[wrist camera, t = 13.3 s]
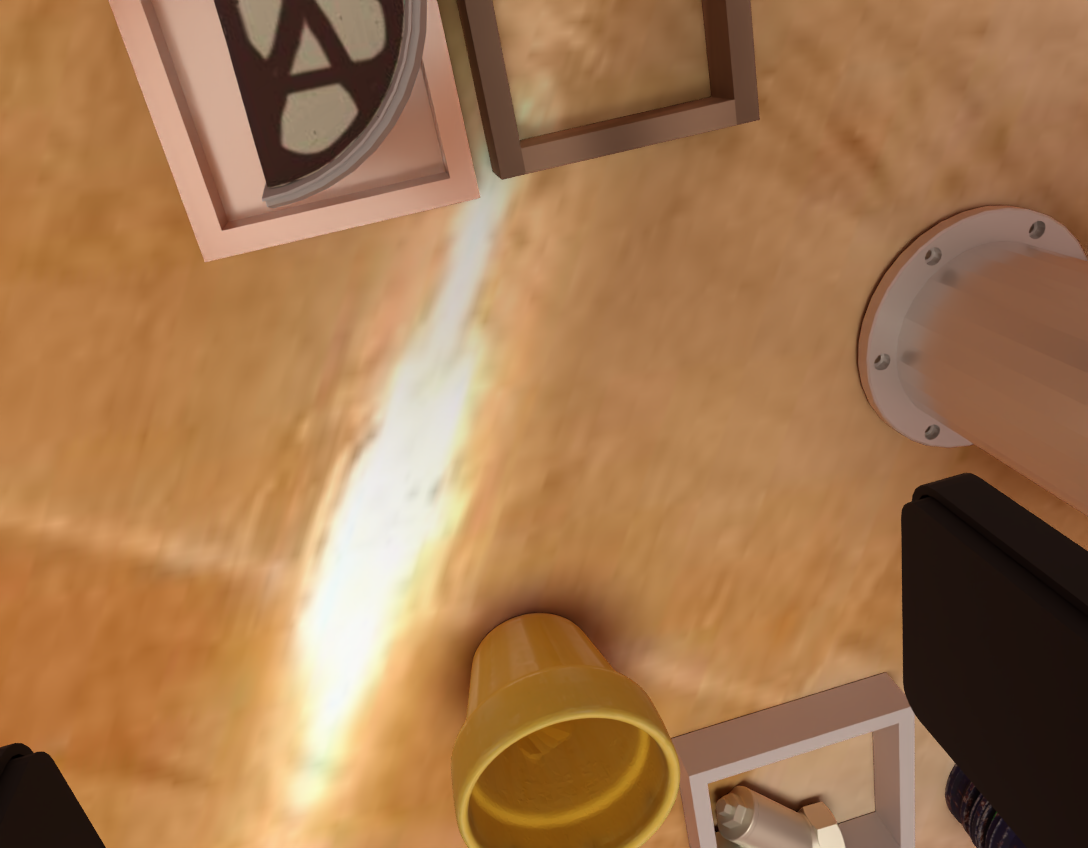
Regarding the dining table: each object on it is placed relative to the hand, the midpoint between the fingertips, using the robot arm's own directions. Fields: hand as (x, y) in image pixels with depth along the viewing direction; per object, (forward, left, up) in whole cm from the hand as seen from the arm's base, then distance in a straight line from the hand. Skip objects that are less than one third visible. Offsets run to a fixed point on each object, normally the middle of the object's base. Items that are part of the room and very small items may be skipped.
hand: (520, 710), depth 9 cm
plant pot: (-1, +25, -31) cm, 39 cm away
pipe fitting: (-13, +42, -31) cm, 54 cm away
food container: (0, -9, -30) cm, 31 cm away
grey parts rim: (-15, +40, -30) cm, 52 cm away
